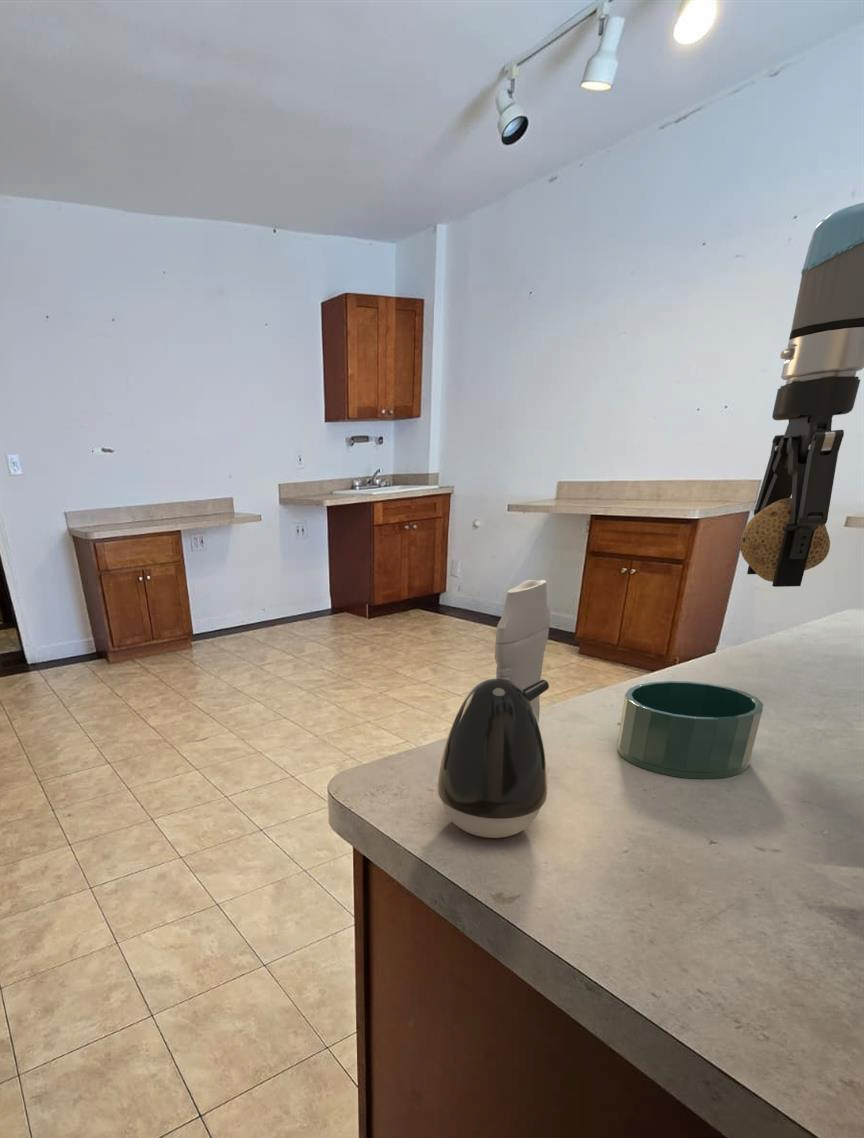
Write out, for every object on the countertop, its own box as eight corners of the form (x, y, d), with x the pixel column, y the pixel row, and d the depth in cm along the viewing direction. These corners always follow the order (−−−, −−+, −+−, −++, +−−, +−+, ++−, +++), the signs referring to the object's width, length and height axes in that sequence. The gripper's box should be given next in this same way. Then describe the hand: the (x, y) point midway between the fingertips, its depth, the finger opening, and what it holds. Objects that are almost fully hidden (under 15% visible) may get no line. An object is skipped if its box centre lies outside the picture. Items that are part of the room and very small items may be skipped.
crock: (729, 736, 79) (742, 682, 76) (765, 783, 68) (782, 722, 65) (610, 731, 83) (618, 679, 80) (625, 774, 72) (635, 716, 69)
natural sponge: (719, 577, 88) (734, 499, 83) (793, 574, 86) (812, 493, 82) (748, 588, 80) (767, 502, 75) (831, 584, 78) (854, 496, 74)
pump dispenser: (567, 838, 61) (587, 685, 54) (470, 861, 58) (479, 704, 52) (505, 793, 70) (515, 658, 63) (419, 812, 67) (421, 673, 61)
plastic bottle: (516, 756, 78) (532, 571, 69) (548, 764, 76) (570, 573, 66) (471, 786, 72) (482, 587, 63) (505, 797, 69) (522, 590, 60)
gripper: (750, 391, 84) (715, 568, 93) (819, 371, 65) (767, 595, 74) (819, 384, 81) (776, 566, 91) (911, 362, 63) (845, 594, 72)
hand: (772, 579), depth 83 cm, fingers closed on natural sponge, 9 cm apart
